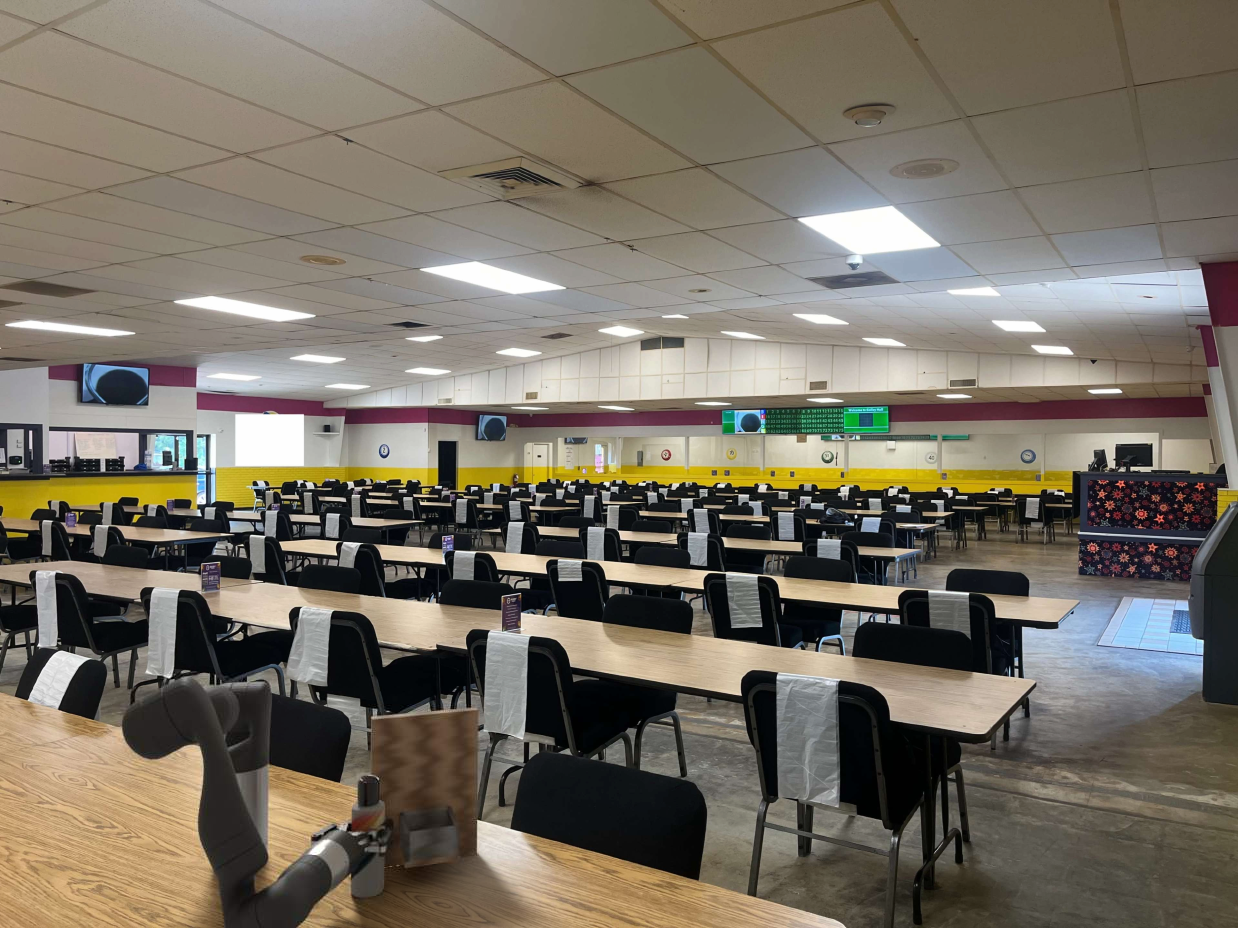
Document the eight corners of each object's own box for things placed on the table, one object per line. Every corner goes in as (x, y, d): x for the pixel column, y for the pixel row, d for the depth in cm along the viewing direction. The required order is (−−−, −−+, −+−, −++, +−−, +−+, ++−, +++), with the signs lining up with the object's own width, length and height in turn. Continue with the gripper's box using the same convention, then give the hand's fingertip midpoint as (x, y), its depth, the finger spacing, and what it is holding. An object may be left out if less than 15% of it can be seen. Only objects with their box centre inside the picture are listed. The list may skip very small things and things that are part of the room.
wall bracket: (374, 895, 147) (375, 734, 148) (369, 865, 159) (371, 716, 159) (487, 877, 154) (488, 724, 155) (475, 849, 166) (476, 707, 166)
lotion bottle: (354, 883, 152) (356, 771, 152) (386, 882, 152) (388, 771, 152) (347, 898, 146) (348, 783, 146) (380, 897, 146) (381, 782, 147)
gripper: (368, 843, 134) (412, 803, 151) (285, 836, 136) (337, 798, 153) (368, 891, 134) (411, 846, 150) (285, 883, 136) (337, 839, 153)
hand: (374, 822), depth 152 cm, fingers closed on lotion bottle, 5 cm apart
